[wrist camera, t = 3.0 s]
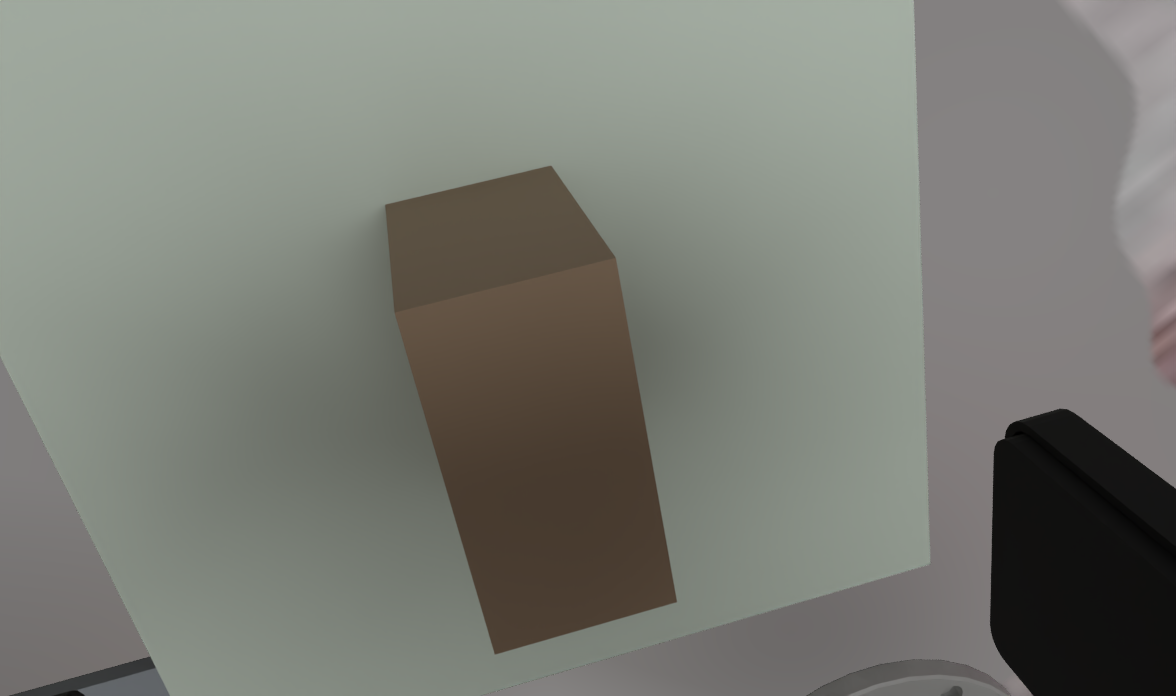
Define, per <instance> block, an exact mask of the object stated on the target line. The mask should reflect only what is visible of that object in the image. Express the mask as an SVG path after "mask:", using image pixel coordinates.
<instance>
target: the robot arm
mask: <svg viewBox="0 0 1176 696" xmlns="http://www.w3.org/2000/svg"><path fill="white" fill-rule="evenodd" d="M993 474H994V475H993V518H992V566H991V609H990V626H991V633H992V637H993V640H994V643H995V645H996V647H997V649H998V651H999V653H1000V655H1001V656H1002V658H1003V659H1004V660H1005V662H1006V663H1007V664H1008V665H1009V667H1010V668H1011V669H1012V670H1013V671H1014V673H1015V674H1016V675H1017V676H1018V677H1019V679H1020V680H1021V681H1022V682H1023V683H1024V685H1025V686H1026V687H1027V688H1028V689H1029V691H1030V692H1031V693H1032V694H1033V695H1034V696H1176V489H1175V488H1174V487H1173V486H1171V485H1170V484H1169V483H1167V482H1166V481H1164V480H1163V479H1162V478H1161V477H1159V476H1158V475H1157V474H1155V473H1154V472H1152V471H1151V470H1150V469H1148V468H1147V467H1146V466H1145V465H1143V464H1142V463H1140V462H1139V461H1138V460H1136V459H1135V458H1134V457H1132V456H1131V455H1130V454H1129V453H1127V452H1126V451H1125V450H1123V449H1122V448H1121V447H1119V446H1118V445H1117V444H1115V443H1114V442H1113V441H1111V440H1110V439H1108V438H1107V437H1106V436H1105V435H1103V434H1102V433H1101V432H1099V431H1098V430H1096V429H1095V428H1094V427H1092V426H1091V425H1089V424H1088V423H1087V422H1086V421H1084V420H1083V419H1082V418H1080V417H1079V416H1078V415H1076V414H1075V413H1073V412H1071V411H1069V410H1067V409H1058V410H1054V411H1051V412H1048V413H1044V414H1040V415H1037V416H1033V417H1030V418H1026V419H1023V420H1020V421H1016V422H1013V423H1012V424H1010V425H1009V427H1008V428H1007V430H1006V434H1005V439H1003V440H1000V441H998V442H997V444H996V446H995V450H994V471H993ZM54 696H85V695H84V694H83V693H81V692H79V691H78V690H72V691H68V692H64V693H61V694H57V695H54ZM807 696H1011V695H1010V694H1009V692H1008V691H1007V690H1006V689H1005V688H1004V687H1003V686H1002V685H1000V684H999V683H998V682H997V681H995V680H994V679H993V678H992V677H991V676H989V675H988V674H985V673H983V672H981V671H979V670H976V669H974V668H972V667H970V666H967V665H963V664H958V663H954V662H949V661H944V660H907V661H900V662H893V663H887V664H881V665H877V666H873V667H870V668H867V669H864V670H860V671H857V672H854V673H851V674H848V675H846V676H844V677H842V678H839V679H837V680H835V681H833V682H831V683H829V684H826V685H824V686H822V687H820V688H818V689H817V690H815V691H814V692H812V693H810V694H809V695H807Z"/></svg>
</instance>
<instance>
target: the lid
mask: <svg viewBox="0 0 1176 696" xmlns="http://www.w3.org/2000/svg"><path fill="white" fill-rule="evenodd" d="M914 27H915V26H914V0H0V357H1V359H2V361H3V363H4V365H5V367H6V369H7V371H8V373H9V375H10V377H11V379H12V381H13V383H14V385H15V387H16V389H17V391H18V393H19V395H20V397H21V399H22V401H23V403H24V405H25V407H26V409H27V411H28V413H29V415H30V417H31V419H32V421H33V423H34V425H35V427H36V429H37V431H38V433H39V435H40V437H41V439H42V441H43V443H44V445H45V447H46V449H47V451H48V453H49V455H50V457H51V459H52V461H53V463H54V465H55V467H56V469H57V471H58V473H59V475H60V477H61V479H62V481H63V483H64V485H65V487H66V489H67V491H68V493H69V495H70V497H71V499H72V501H73V503H74V505H75V507H76V509H77V511H78V513H79V515H80V517H81V519H82V521H83V523H84V525H85V527H86V529H87V531H88V533H89V535H90V537H91V539H92V541H93V543H94V545H95V547H96V549H97V551H98V553H99V555H100V557H101V559H102V561H103V563H104V565H105V567H106V569H107V571H108V573H109V575H110V577H111V579H112V581H113V583H114V585H115V587H116V589H117V591H118V593H119V595H120V597H121V599H122V601H123V603H124V605H125V607H126V609H127V611H128V613H129V615H130V617H131V619H132V621H133V623H134V625H135V627H136V629H137V631H138V632H139V635H140V637H141V638H142V641H143V643H144V644H145V647H146V649H147V651H148V653H149V655H150V657H151V659H152V661H153V663H154V665H155V667H156V669H157V671H158V673H159V675H160V677H161V679H162V681H163V683H164V685H165V687H166V689H167V691H168V693H169V695H170V696H482V695H485V694H489V693H492V692H495V691H499V690H503V689H505V688H509V687H513V686H516V685H520V684H523V683H526V682H530V681H533V680H537V679H540V678H543V677H547V676H550V675H554V674H557V673H560V672H564V671H567V670H571V669H574V668H577V667H581V666H585V665H588V664H591V663H595V662H598V661H602V660H605V659H608V658H612V657H615V656H619V655H622V654H625V653H629V652H632V651H636V650H639V649H643V648H646V647H649V646H653V645H656V644H660V643H663V642H666V641H670V640H673V639H676V638H680V637H683V636H687V635H690V634H694V633H697V632H701V631H704V630H707V629H711V628H714V627H718V626H721V625H724V624H728V623H731V622H735V621H738V620H742V619H745V618H748V617H752V616H755V615H759V614H762V613H766V612H769V611H772V610H776V609H779V608H782V607H786V606H789V605H792V604H796V603H800V602H803V601H806V600H810V599H813V598H817V597H820V596H823V595H827V594H830V593H833V592H837V591H841V590H844V589H848V588H851V587H854V586H858V585H861V584H865V583H868V582H871V581H875V580H878V579H882V578H885V577H888V576H892V575H895V574H899V573H902V572H906V571H909V570H912V569H916V568H919V567H923V566H926V565H930V533H929V499H928V467H927V432H926V399H925V367H924V365H925V364H924V330H923V298H922V263H921V229H920V197H919V196H920V195H919V164H918V128H917V94H916V60H915V29H914Z"/></svg>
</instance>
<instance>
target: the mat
mask: <svg viewBox="0 0 1176 696" xmlns="http://www.w3.org/2000/svg"><path fill="white" fill-rule="evenodd" d="M72 690H78V691H79V692H81V693H83V694H84V695H85V696H170V695H169V693H168V691H167V689H166V687H165V685H164V683H163V681H162V679H161V677H160V675H159V673H158V671H157V669H156V667H155V665H154V663H153V661H152V659H151V657H147V658H143V659H140V660H136V661H133V662H129V663H125V664H122V665H118V666H115V667H111V668H107V669H104V670H100V671H97V672H93V673H90V674H86V675H82V676H79V677H75V678H71V679H68V680H65V681H61V682H57V683H54V684H50V685H46V686H43V687H39V688H36V689H32V690H28V691H25V692H21V693H18V694H14V695H10V696H54V695H57V694H61V693H64V692H68V691H72Z"/></svg>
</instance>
